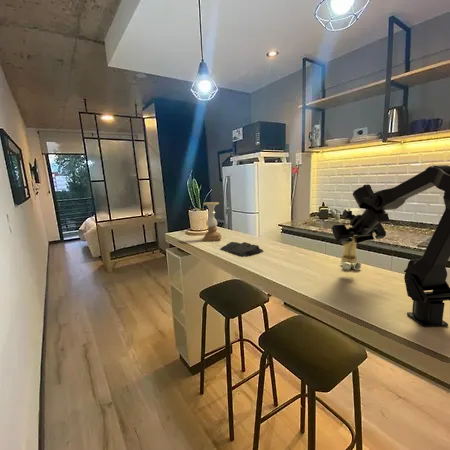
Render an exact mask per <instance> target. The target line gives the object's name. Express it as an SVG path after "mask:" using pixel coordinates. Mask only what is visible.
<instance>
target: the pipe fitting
mask: <svg viewBox="0 0 450 450" xmlns="http://www.w3.org/2000/svg"><path fill="white" fill-rule="evenodd" d="M340 264H341V265H342V269H343V270H344V271H350V270H351V269H353V270H355V271H359V270H361V268H362V262H359V261H357V262H356V263H347V262H343V261H342V258H341V259H340Z"/></svg>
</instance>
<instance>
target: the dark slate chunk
mask: <svg viewBox="0 0 450 450" xmlns="http://www.w3.org/2000/svg"><path fill="white" fill-rule="evenodd" d="M219 250H220V251H222V252H226V253H229V254H232V255H235V256H237V257H242V258H243V257H245V258H248V257H251V256H257V255H260V254H261V253H262V252H264V249H262V248H260V246H259V245H258V244H251V243H249V242H245V241H243V242H242V243H240V242H237V241H231V242H228V243H227V244H226V245H223V246H222V247H221V248H219Z"/></svg>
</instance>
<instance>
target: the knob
mask: <svg viewBox="0 0 450 450" xmlns="http://www.w3.org/2000/svg"><path fill="white" fill-rule="evenodd" d="M349 227H350V226H346V228H347V229H349ZM352 240H353V241H352V242H349V243H347V244H345V245H343V251H342V255H341V259H342V261H343V262H347V263H356V262H358V257H357V256H356V255H357V244H358V243H357V235H356V236H353V237H352ZM356 243H357V244H356Z"/></svg>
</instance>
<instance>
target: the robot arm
mask: <svg viewBox="0 0 450 450" xmlns="http://www.w3.org/2000/svg"><path fill="white" fill-rule="evenodd" d="M433 187H435V188H437V189H439V190H440V191H443V192H444V193H443V196H442V197H443V201H444V206H445V209H444V212H443V214H442V215H441V217H440V219H439V222H438V223H437V226H436V228H435V230H434V231H433V234H432V236H431V238H430V240H429V242H428V244H427V246H426V249H425V250H424V252H423V254H422V256H421V258H416V259H410V260H409V261H408V263H407V266H406V269H404V271H403V272H404V276H403V277H404V278H403V279H404V283H405V284H404V285H405V289H406V294H407V296H408V297H409V298H411V300H412V308H411V309H412V310H411V311H410V312H409V311H408V312H406V315H408V316H409V318H411V319H412V320H414V321H416V322H417V323H418V324H419V325H421V326H422V327H424V328H425V327H448V326H449V323H448V322H447V321H445V320H443V319H444V310H445V302H444V301H450V285H449V284H448V282H447V281H446V280H447V276H448V271H447V267H446V265H447V262H448V261H449V259H450V165H448V164H442V165H437V164H436V165H430V166H428V167H427V168H425V170H423V171H421V172H420V173H417V174H415V175H414V176H412V177H410V178H409V179H407V180H405V181H403V182H401V183H400V184H398V185H395V186H394V187H391V188H386V189H381V190H378V191H375V192H374V191H373V189H372V186H371V185H370V184H363V186H361V187H359V188H356V189H355V190H354V191H353V192H352V196H353V199H354V200H355V202H356V204H357V206H358V207H359V208H358V207H355V208H354V207H353V208H351V207H350V208H345V209H344V210H343V211H342V217H343V218H344V219H348V220H349V221H350V222H349V225H350V226H348V227H349V229H347V228H346V227H347V226H346V225H345V224H344V223H340V224H339V223H338V224H333V225H332V227H331V228H330V229H331V232H332V235H333V237H334V238H335V241H337V242H339V243H340V242H341V245H342V246H344V245H345V244H347V243H349V242H352V241H353V240H352V237H353V236H356V235H357V243H356V245H358V244H361V243H365V242H369V241H374V239H377V240H379V239H384V238H385V237H386V235H387V232H386V230H385V227H384V226H383V225H382V223H387V222H390V218H389V217H390V216H389V213H387V212H386V211H387V210H397V209H398V208H399V207H401V206H403V205H404V204H405V202H406V200H408V199H409V198H411V197H413V196H416V195H418V194H420V193H422V192H424V191H427V190H429V189H431V188H433ZM361 209H363V210H364V211H363V210H361ZM374 234H375V236H374Z"/></svg>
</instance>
